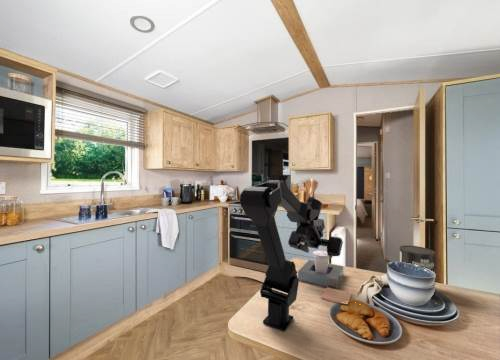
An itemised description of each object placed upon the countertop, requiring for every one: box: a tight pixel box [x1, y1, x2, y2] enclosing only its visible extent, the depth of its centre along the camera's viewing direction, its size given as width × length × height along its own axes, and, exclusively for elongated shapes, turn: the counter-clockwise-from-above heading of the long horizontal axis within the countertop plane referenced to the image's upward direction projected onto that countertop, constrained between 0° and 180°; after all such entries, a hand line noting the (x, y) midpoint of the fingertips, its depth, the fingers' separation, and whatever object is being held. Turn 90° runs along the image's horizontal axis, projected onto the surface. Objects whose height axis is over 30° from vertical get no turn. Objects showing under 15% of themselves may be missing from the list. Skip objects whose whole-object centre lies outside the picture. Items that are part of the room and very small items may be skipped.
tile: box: [320, 287, 353, 304], centre depth 76 cm, size 8×8×1 cm
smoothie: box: [312, 246, 330, 274], centre depth 90 cm, size 6×6×14 cm
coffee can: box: [399, 245, 437, 274], centre depth 81 cm, size 10×10×14 cm
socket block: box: [297, 259, 344, 290], centre depth 90 cm, size 14×14×4 cm
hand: (319, 254), depth 89 cm, fingers open, 9 cm apart
